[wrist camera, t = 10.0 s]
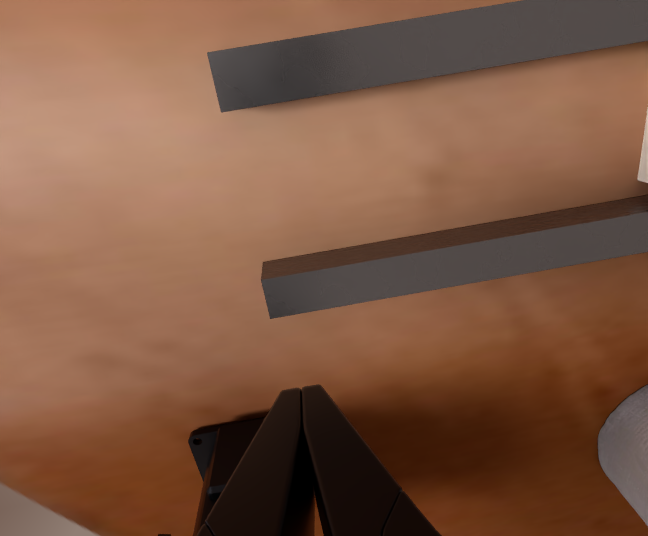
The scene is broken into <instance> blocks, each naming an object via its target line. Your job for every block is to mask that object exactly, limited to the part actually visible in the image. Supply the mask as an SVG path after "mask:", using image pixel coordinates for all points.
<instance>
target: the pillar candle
mask: <svg viewBox="0 0 648 536" xmlns="http://www.w3.org/2000/svg"><path fill="white" fill-rule="evenodd" d="M598 457H599V461H600V464H601V467H602V469H603V471H604V472H605V474H606V475H607V476H608V478H609V479H610V480H611V481H612V482H613V483H614V484H615V486H616V487H617V488H618V490H619V491H620V492H621V494H622V495H623V496H624V497H625V499H626V500H627V501H628V502H629V503H630V505H631V506H632V507H633V508H634V509H635V511H636V512H637V513H638V514H639V516H640V517H641V518H642V519H643V521H644V522H645V523H646V525H647V526H648V385H646V386H644V387H642V388H641V389H639V390H638V391H636V392H635V393H633V394H631V395H630V396H628V397H627V398H626V399H625V400H624V401H623V402H622V403H621V404H620V405H619V406H618V407H617V408H616V409H615V411H613V412H612V413H611V414H610V416H609V417H608V418H607V420H606V422H605V424H604V425H603V426H602V428H601V430H600V432H599V435H598Z"/></svg>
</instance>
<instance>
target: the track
mask: <svg viewBox="0 0 648 536" xmlns="http://www.w3.org/2000/svg"><path fill="white" fill-rule="evenodd" d="M643 41H648V0H523V1H517V2H511V3H505V4H498V5H492V6H486V7H480V8H474V9H468V10H462V11H456V12H450V13H444V14H438V15H432V16H426V17H420V18H414V19H408V20H402V21H395V22H389V23H383V24H377V25H371V26H365V27H359V28H353V29H347V30H341V31H335V32H329V33H323V34H317V35H311V36H305V37H299V38H293V39H286V40H280V41H274V42H268V43H262V44H256V45H250V46H244V47H238V48H232V49H226V50H220V51H214V52H208V53H207V55H208V59H209V63H210V67H211V72H212V76H213V80H214V84H215V88H216V93H217V97H218V101H219V105H220V109H221V112H227V111H232V110H238V109H244V108H250V107H256V106H262V105H268V104H274V103H280V102H286V101H292V100H298V99H304V98H310V97H316V96H322V95H328V94H334V93H340V92H346V91H352V90H358V89H364V88H369V87H375V86H381V85H387V84H393V83H399V82H405V81H411V80H417V79H423V78H429V77H435V76H441V75H447V74H453V73H459V72H465V71H471V70H477V69H483V68H489V67H495V66H501V65H506V64H512V63H518V62H524V61H530V60H536V59H542V58H548V57H554V56H560V55H566V54H572V53H578V52H584V51H590V50H596V49H602V48H608V47H614V46H620V45H626V44H632V43H638V42H643ZM644 252H648V195H645V196H639V197H633V198H628V199H622V200H616V201H610V202H605V203H599V204H593V205H588V206H582V207H576V208H570V209H565V210H559V211H553V212H548V213H542V214H536V215H531V216H525V217H519V218H513V219H508V220H502V221H496V222H491V223H485V224H479V225H473V226H468V227H462V228H456V229H451V230H445V231H439V232H433V233H428V234H422V235H416V236H411V237H405V238H399V239H393V240H388V241H382V242H376V243H371V244H365V245H359V246H353V247H348V248H342V249H336V250H331V251H325V252H319V253H313V254H308V255H302V256H296V257H291V258H285V259H279V260H273V261H268V262H263V267H262V276H261V282H262V286H263V290H264V295H265V299H266V303H267V307H268V311H269V316H270V319H272V318H278V317H284V316H289V315H295V314H301V313H306V312H312V311H317V310H323V309H329V308H334V307H340V306H346V305H351V304H357V303H362V302H368V301H374V300H379V299H385V298H391V297H396V296H402V295H408V294H413V293H419V292H424V291H430V290H436V289H441V288H447V287H453V286H458V285H464V284H469V283H475V282H481V281H486V280H492V279H498V278H503V277H509V276H514V275H520V274H526V273H531V272H537V271H543V270H548V269H554V268H560V267H565V266H571V265H576V264H582V263H588V262H593V261H599V260H605V259H610V258H616V257H621V256H627V255H633V254H638V253H644Z"/></svg>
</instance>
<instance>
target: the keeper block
mask: <svg viewBox="0 0 648 536" xmlns="http://www.w3.org/2000/svg"><path fill="white" fill-rule="evenodd" d="M638 180H639V181H642V182H646V183H648V110H647V117H646V124H645V131H644V138H643V145H642V152H641V159H640V166H639V173H638Z"/></svg>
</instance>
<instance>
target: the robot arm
mask: <svg viewBox="0 0 648 536" xmlns="http://www.w3.org/2000/svg"><path fill="white" fill-rule="evenodd" d="M196 438H199V439H201V440H197V439H196ZM188 442H189V445H190V448H191V451H192V453H193V456H194V458H195V461H196V464H197V466H198V469H199V471H200V474H201V477H202V479H203V482H204V483H203V488H202V493H201V498H200V503H199V508H198V513H197V518H196V523H195V528H194V533H193V536H314V523H315V497H316V502H317V507H318V512H319V516H320V521H321V525H322V529H323V534H324V536H441V535H440V534H439V532H438V531H437V530H436V529H435V528H434V527H433V526H432V525H431V523H430V522H429V521H428V520H427V519H426V517H425V516H424V515H423V514H422V513H421V511H420V510H419V509H418V508H417V507H416V505H415V504H414V503H413V502H412V500H411V499H410V498H409V496H408V495H407V494H406V493H405V492H404V491H402V488H401V487H400V485H399V484H398V483H397V481H396V480H395V479H394V478H393V476H392V475H391V474H390V473H389V471H388V470H387V469H386V467H385V466H384V465H383V464H382V462H381V461H380V460H379V459H378V457H377V456H376V455H375V453H374V452H373V451H372V450H371V448H370V447H369V446H368V445H367V443H366V442H365V441H364V439H363V438H362V437H361V436H360V434H359V433H358V432H357V430H356V429H355V428H354V427H353V425H352V424H351V423H350V422H349V420H348V419H347V418H346V416H345V415H344V414H343V413H342V411H341V410H340V409H339V408H338V406H337V405H336V404H335V402H334V401H333V400H332V399H331V397H330V396H329V395H328V394H327V392H326V391H325V390H324V388H323V387H322V386H321V385H312V386H306V387H303V388H302V390H301V389H300V388H293V389H286V390H282V391H281V392H280V394H279V396H278V397H277V399H276V401H275V402H274V404H273V406H272V408H271V409H270V411H269V413H268V414H267V416H266V417H264V418H259V419H253V420H248V421H242V422H237V423H231V424H226V425H220V426H215V427H209V428H204V429H198V430H194V431H193V432H191V434H190V437H189V440H188ZM314 496H315V497H314ZM158 536H171V534H158Z"/></svg>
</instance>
